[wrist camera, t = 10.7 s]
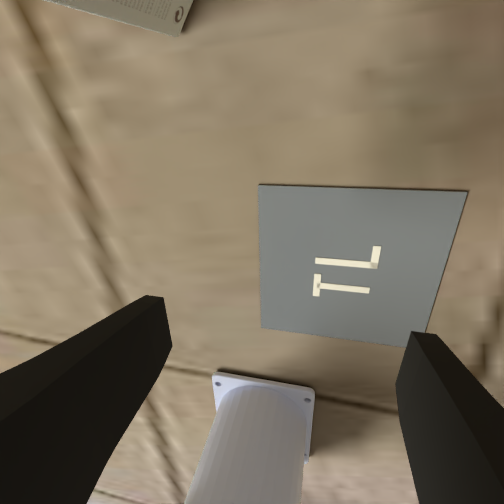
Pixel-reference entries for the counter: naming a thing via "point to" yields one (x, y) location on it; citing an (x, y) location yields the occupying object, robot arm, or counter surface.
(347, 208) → the tile
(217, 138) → the counter surface
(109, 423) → the robot arm
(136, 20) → the skincare box
